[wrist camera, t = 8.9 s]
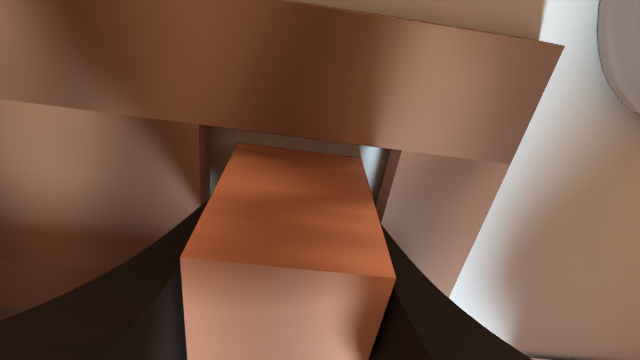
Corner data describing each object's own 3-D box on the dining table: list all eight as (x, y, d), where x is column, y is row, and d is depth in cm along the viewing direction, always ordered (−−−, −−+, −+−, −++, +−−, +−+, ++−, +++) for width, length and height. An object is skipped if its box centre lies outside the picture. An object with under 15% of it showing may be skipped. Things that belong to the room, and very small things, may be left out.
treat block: (361, 158, 12) (396, 277, 7) (340, 251, 15) (355, 396, 9) (237, 142, 12) (179, 257, 7) (234, 241, 14) (189, 386, 9)
